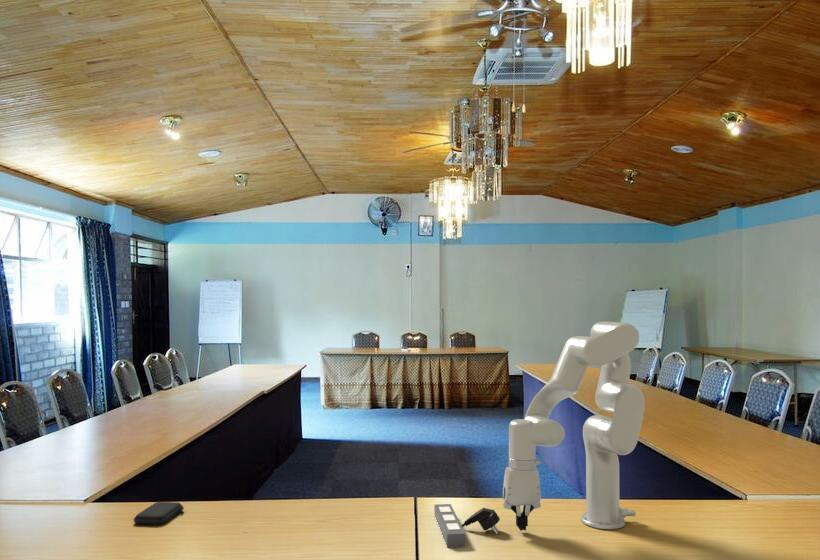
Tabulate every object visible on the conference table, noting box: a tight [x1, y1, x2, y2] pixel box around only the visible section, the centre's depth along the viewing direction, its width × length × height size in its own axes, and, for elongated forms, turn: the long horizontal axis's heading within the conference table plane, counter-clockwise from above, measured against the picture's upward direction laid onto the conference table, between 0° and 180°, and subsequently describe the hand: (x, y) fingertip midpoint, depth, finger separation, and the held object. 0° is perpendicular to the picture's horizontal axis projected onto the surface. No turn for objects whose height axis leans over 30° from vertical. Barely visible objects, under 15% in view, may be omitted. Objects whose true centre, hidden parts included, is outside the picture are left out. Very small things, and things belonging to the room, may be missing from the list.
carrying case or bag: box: [133, 501, 185, 526], centre depth 188 cm, size 11×3×15 cm
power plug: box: [461, 507, 501, 535], centre depth 177 cm, size 6×8×12 cm
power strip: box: [433, 503, 467, 548], centre depth 178 cm, size 5×24×4 cm, turn 6°
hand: (521, 528), depth 176 cm, fingers closed
